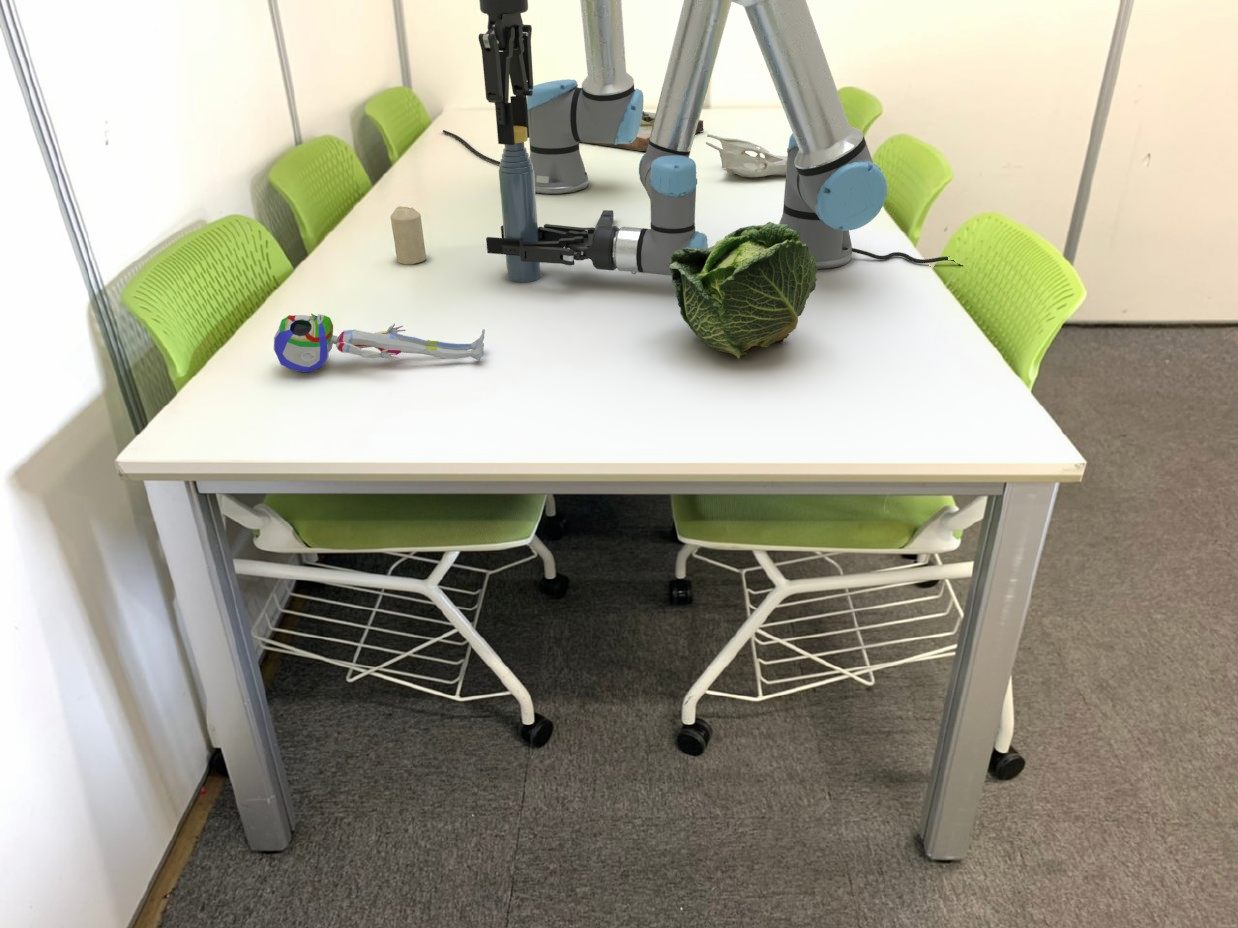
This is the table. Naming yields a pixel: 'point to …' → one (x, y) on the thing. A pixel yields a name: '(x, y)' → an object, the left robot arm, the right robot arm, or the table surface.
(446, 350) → the toy
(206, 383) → the table surface
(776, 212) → the table surface
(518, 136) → the cap
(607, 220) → the pillar
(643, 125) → the plaque
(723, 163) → the anatomical model
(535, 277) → the bottle
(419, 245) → the candle
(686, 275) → the vegetable
